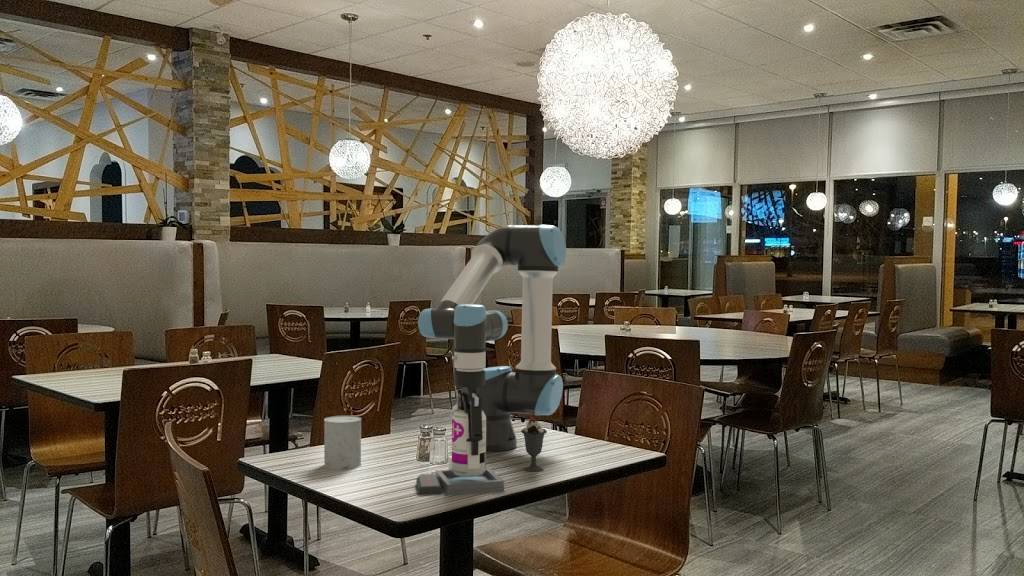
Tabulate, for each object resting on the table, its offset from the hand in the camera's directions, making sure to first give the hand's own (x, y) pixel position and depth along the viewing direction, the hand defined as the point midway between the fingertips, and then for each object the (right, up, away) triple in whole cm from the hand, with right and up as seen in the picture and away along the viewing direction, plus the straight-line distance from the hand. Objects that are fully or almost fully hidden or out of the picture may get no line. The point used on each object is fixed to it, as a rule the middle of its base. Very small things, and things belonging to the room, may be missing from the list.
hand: (468, 463), depth 195 cm
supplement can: (0, -2, 0) cm, 2 cm away
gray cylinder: (-34, -5, +18) cm, 39 cm away
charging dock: (-1, -5, +2) cm, 6 cm away
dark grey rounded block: (-10, -6, -2) cm, 11 cm away
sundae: (+16, -5, +16) cm, 23 cm away
